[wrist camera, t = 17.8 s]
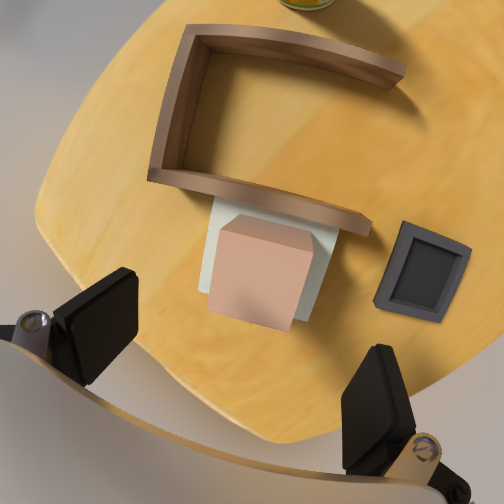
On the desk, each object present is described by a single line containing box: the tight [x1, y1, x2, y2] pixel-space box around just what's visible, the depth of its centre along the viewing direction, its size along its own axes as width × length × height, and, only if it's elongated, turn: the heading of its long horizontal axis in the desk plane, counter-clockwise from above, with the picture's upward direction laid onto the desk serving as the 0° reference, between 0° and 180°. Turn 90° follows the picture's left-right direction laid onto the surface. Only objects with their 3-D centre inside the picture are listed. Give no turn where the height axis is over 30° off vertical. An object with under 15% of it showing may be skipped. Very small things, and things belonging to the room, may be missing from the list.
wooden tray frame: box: [147, 24, 406, 237], centre depth 16 cm, size 15×12×4 cm
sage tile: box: [198, 196, 340, 322], centre depth 20 cm, size 9×8×2 cm
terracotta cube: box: [206, 214, 314, 332], centre depth 17 cm, size 5×5×5 cm
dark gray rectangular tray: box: [373, 221, 472, 323], centre depth 19 cm, size 7×7×1 cm
